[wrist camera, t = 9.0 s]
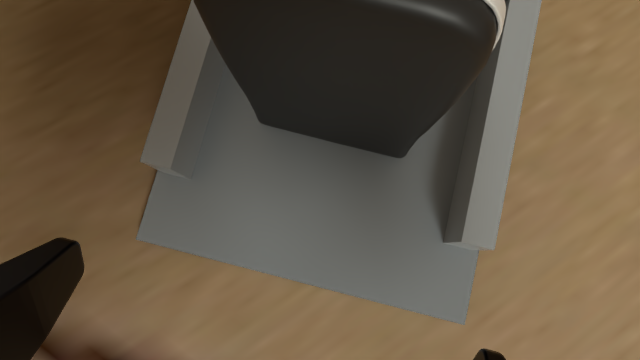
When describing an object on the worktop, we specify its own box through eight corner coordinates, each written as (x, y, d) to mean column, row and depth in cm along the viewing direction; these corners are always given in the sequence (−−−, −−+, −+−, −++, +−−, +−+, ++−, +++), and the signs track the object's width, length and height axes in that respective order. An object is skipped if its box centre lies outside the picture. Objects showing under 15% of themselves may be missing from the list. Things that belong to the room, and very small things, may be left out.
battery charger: (427, 81, 19) (569, -152, 8) (408, 163, 19) (532, 34, 8) (275, 45, 20) (209, -228, 9) (252, 124, 19) (148, -55, 8)
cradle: (460, 322, 18) (486, 336, 15) (141, 239, 19) (106, 237, 16) (526, -19, 21) (561, -66, 18) (241, -82, 22) (227, -137, 18)
